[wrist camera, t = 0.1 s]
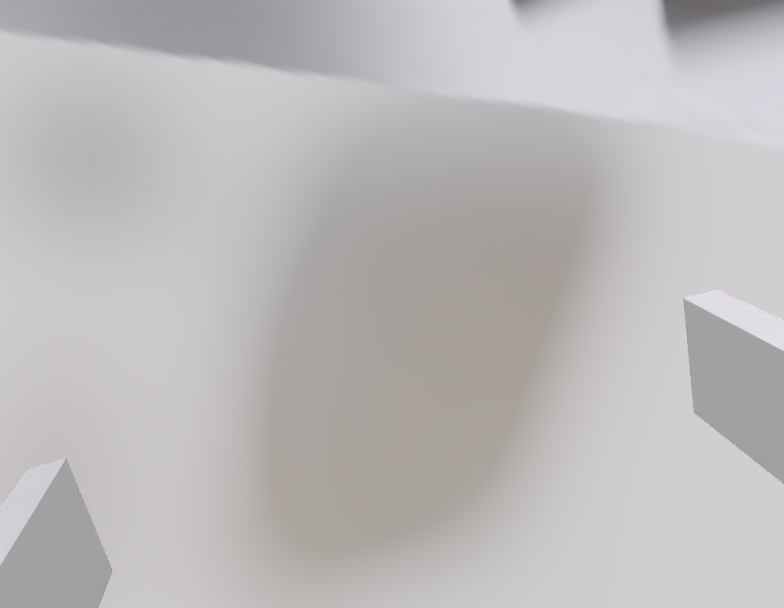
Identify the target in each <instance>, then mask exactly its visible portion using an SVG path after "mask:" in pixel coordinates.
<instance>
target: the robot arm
mask: <svg viewBox="0 0 784 608" xmlns="http://www.w3.org/2000/svg"><path fill="white" fill-rule="evenodd" d="M683 300H684V310H685V320H686V332H687V343H688V353H689V364H690V375H691V386H692V396H693V407H694V413H695V414H696V415H698V416H699V417H700V418H701V419H703V420H704V421H705V422H706V423H708V424H709V425H710V426H712V427H713V428H714V429H715V430H716V431H718V432H719V433H720V434H722V435H723V436H724V437H725V438H727V439H728V440H729V441H730V442H732V443H733V444H734V445H736V446H737V447H738V448H739V449H740V450H742V451H743V452H744V453H746V454H747V455H748V456H749V457H751V458H752V459H753V460H754V461H755V462H757V463H758V464H759V465H761V466H762V467H763V468H764V469H766V470H767V471H768V472H769V473H771V474H772V475H773V476H775V477H776V478H777V479H778V480H779V481H781V482H782V483H783V484H784V320H782V319H780V318H777V317H775V316H773V315H771V314H769V313H767V312H765V311H763V310H760V309H758V308H756V307H754V306H752V305H750V304H747V303H745V302H743V301H741V300H739V299H737V298H734V297H732V296H730V295H728V294H725V293H723V292H721V291H719V290H714V291H710V292H706V293H702V294H698V295H694V296H690V297H687V298H683ZM111 572H112V568H111V566H110V563H109V561H108V559H107V556H106V554H105V551H104V549H103V546H102V544H101V542H100V539H99V537H98V534H97V532H96V530H95V527H94V525H93V522H92V520H91V518H90V515H89V513H88V510H87V508H86V505H85V503H84V501H83V498H82V496H81V493H80V491H79V488H78V486H77V483H76V481H75V479H74V477H73V474H72V471H71V469H70V467H69V464H68V462H67V459H62V460H59V461H54V462H50V463H47V464H42V465H39V466H35V467H31V468H28V469H27V470H26V472H25V473H24V474H23V476H22V477H21V479H20V480H19V482H18V483H17V484H16V486H15V487H14V489H13V490H12V492H11V493H10V495H9V496H8V497H7V499H6V500H5V502H4V503H3V505H2V506H1V507H0V608H98V607H99V604H100V602H101V599H102V597H103V594H104V591H105V588H106V586H107V583H108V580H109V578H110V575H111Z"/></svg>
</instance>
